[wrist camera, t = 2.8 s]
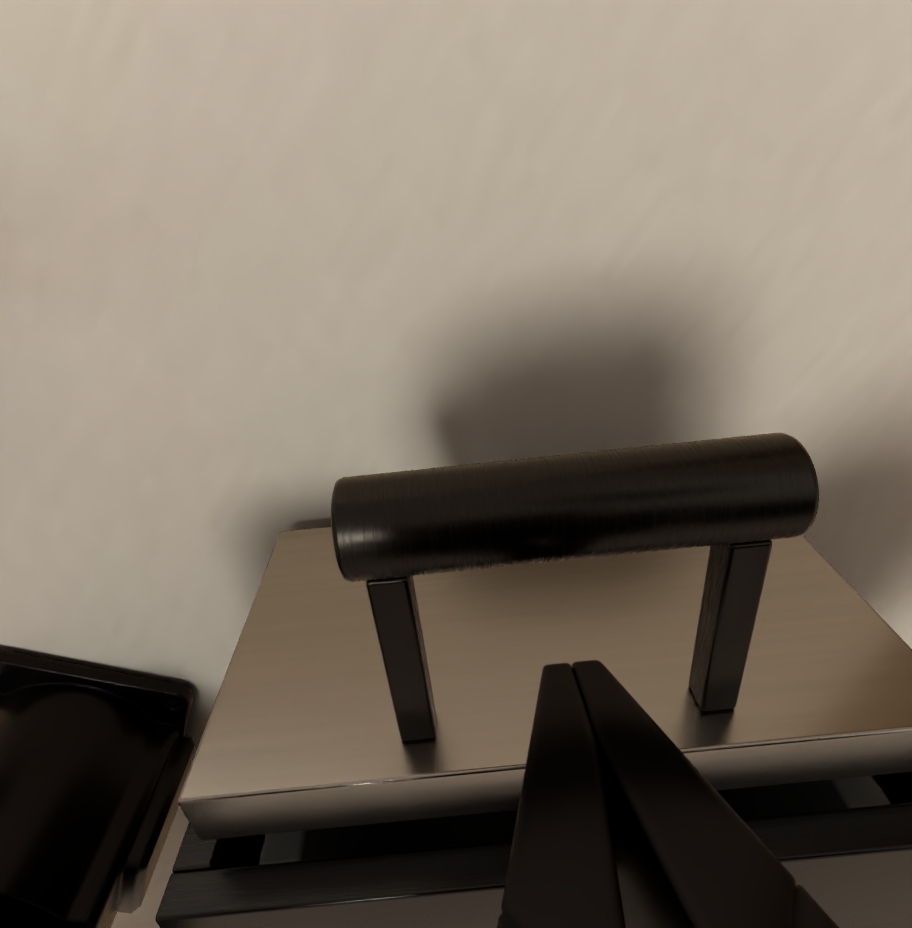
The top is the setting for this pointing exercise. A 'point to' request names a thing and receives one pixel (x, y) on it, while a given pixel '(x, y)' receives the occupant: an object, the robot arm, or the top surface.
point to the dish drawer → (546, 647)
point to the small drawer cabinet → (485, 869)
